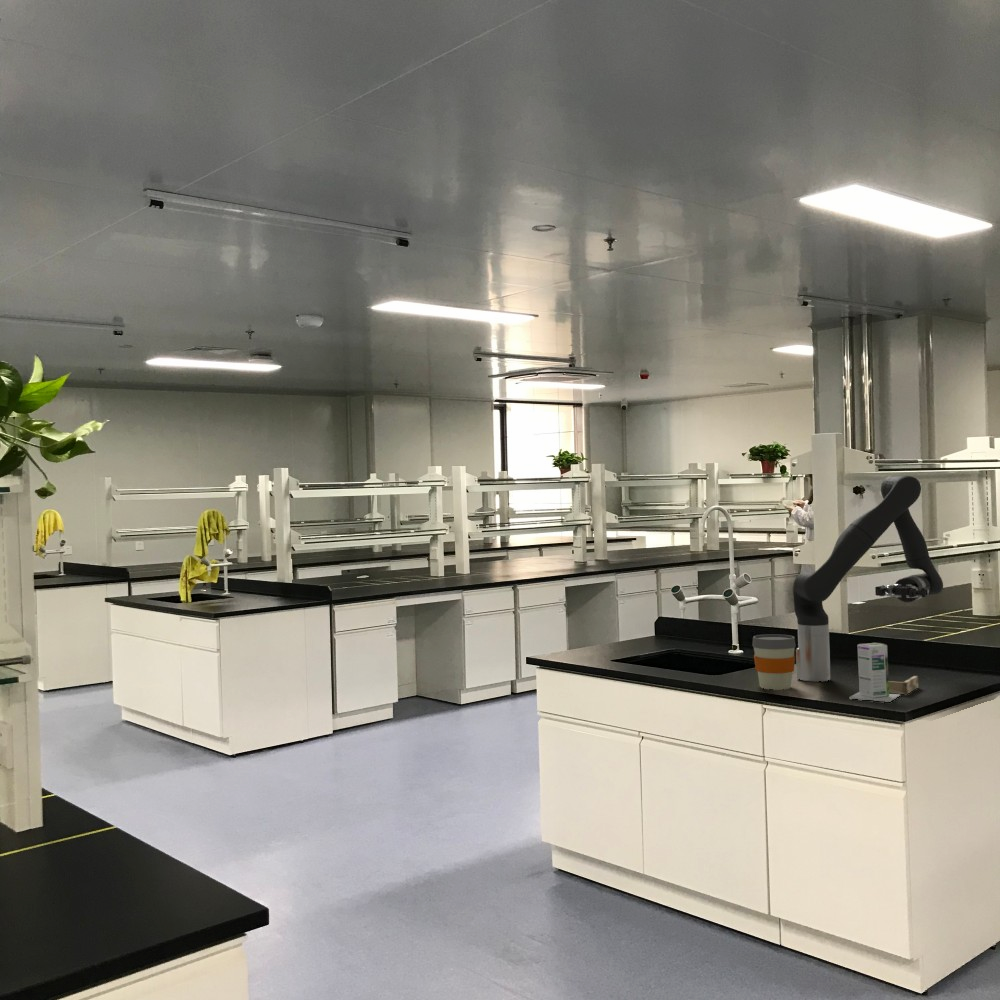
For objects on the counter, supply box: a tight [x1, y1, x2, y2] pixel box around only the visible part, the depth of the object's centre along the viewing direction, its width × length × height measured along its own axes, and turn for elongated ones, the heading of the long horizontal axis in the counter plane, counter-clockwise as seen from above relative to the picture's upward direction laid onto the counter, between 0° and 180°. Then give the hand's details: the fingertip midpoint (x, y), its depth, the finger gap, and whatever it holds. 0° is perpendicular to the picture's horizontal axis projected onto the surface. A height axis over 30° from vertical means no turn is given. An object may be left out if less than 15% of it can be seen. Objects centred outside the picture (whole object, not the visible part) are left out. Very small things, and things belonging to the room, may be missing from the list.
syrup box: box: [856, 642, 890, 698], centre depth 278 cm, size 6×6×14 cm
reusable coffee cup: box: [752, 633, 797, 691], centre depth 298 cm, size 13×12×15 cm
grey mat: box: [848, 691, 901, 703], centre depth 278 cm, size 11×10×1 cm
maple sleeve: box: [889, 675, 919, 695], centre depth 288 cm, size 12×11×4 cm
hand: (895, 593), depth 289 cm, fingers open, 8 cm apart
